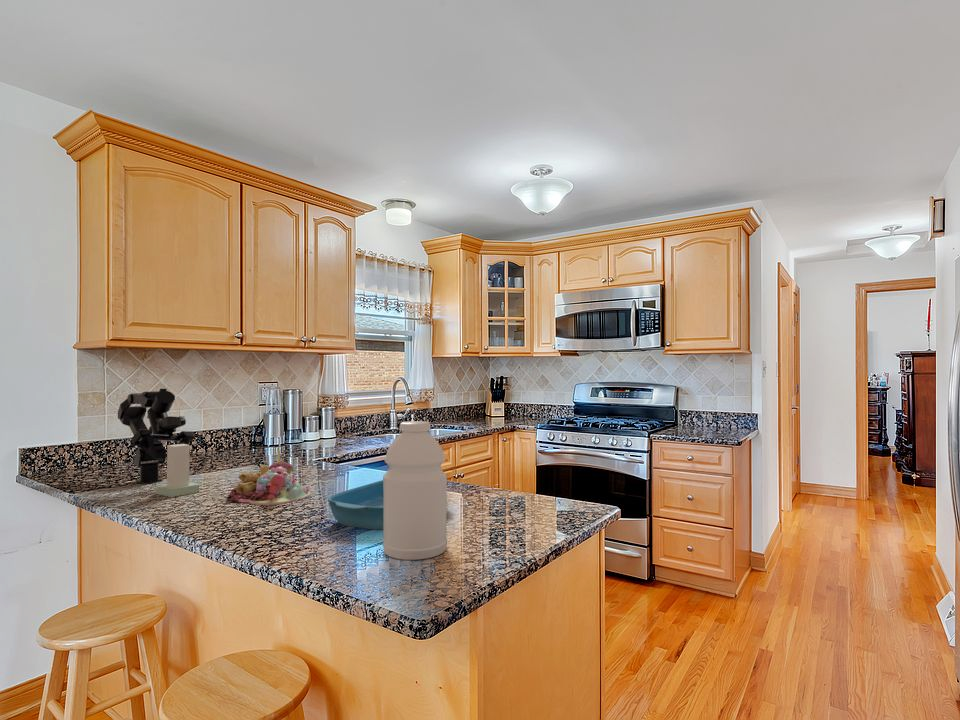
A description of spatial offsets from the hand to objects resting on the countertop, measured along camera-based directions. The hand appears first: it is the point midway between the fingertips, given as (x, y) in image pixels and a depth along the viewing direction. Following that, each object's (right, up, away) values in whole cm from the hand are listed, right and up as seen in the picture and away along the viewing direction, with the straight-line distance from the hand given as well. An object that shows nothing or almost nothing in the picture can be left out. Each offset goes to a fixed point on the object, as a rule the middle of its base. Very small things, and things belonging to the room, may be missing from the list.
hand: (169, 458), depth 183 cm
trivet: (+6, -10, -6) cm, 14 cm away
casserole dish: (+80, -10, -34) cm, 87 cm away
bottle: (+90, -9, -64) cm, 111 cm away
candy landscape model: (+38, -10, -10) cm, 41 cm away
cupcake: (+33, -11, +12) cm, 37 cm away
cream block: (+6, -8, -6) cm, 12 cm away
